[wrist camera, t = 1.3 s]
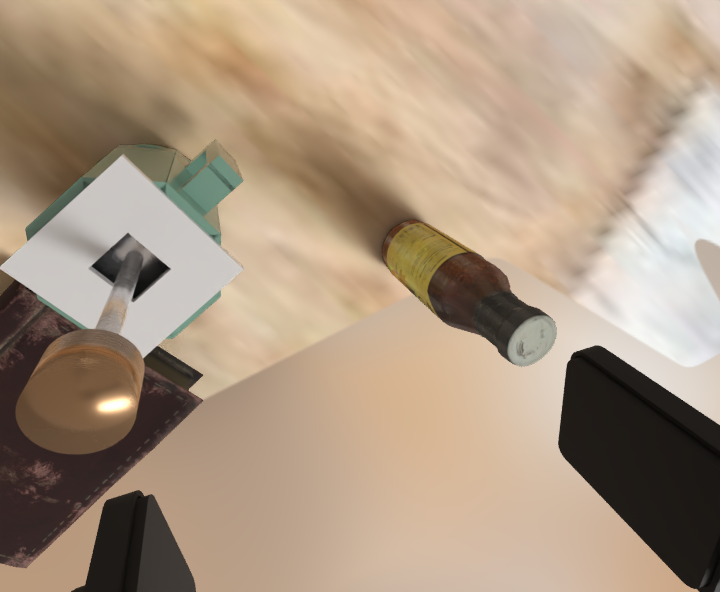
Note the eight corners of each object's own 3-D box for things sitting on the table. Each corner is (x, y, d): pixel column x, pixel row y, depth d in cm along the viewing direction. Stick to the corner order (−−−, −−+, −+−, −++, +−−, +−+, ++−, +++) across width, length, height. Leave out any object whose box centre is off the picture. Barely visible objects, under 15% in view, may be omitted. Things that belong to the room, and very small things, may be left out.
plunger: (37, 253, 26) (-125, 430, 13) (129, 169, 26) (56, 265, 13) (141, 328, 30) (95, 525, 17) (222, 256, 30) (240, 399, 16)
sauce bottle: (373, 271, 47) (471, 382, 30) (388, 213, 45) (502, 296, 28) (428, 277, 50) (548, 383, 33) (445, 222, 47) (582, 304, 30)
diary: (-158, 458, 40) (-202, 504, 36) (33, 260, 38) (11, 283, 34) (47, 532, 49) (32, 576, 45) (209, 376, 47) (210, 406, 43)
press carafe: (55, 201, 36) (-22, 267, 24) (175, 91, 35) (162, 99, 23) (157, 283, 41) (139, 374, 29) (264, 188, 40) (292, 238, 28)
